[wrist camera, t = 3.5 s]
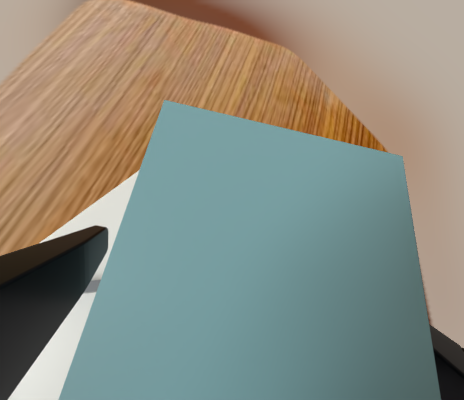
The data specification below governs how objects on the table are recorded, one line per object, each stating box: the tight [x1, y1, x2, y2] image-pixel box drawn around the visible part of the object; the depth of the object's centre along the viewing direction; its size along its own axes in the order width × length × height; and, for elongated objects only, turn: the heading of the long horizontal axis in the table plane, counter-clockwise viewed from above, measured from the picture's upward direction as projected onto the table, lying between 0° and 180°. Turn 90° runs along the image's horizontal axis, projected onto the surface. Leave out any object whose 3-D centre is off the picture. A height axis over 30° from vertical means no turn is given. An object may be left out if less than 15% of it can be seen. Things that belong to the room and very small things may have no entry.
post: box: [58, 100, 441, 400], centre depth 9 cm, size 4×4×13 cm
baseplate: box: [8, 171, 139, 400], centre depth 13 cm, size 20×20×1 cm
